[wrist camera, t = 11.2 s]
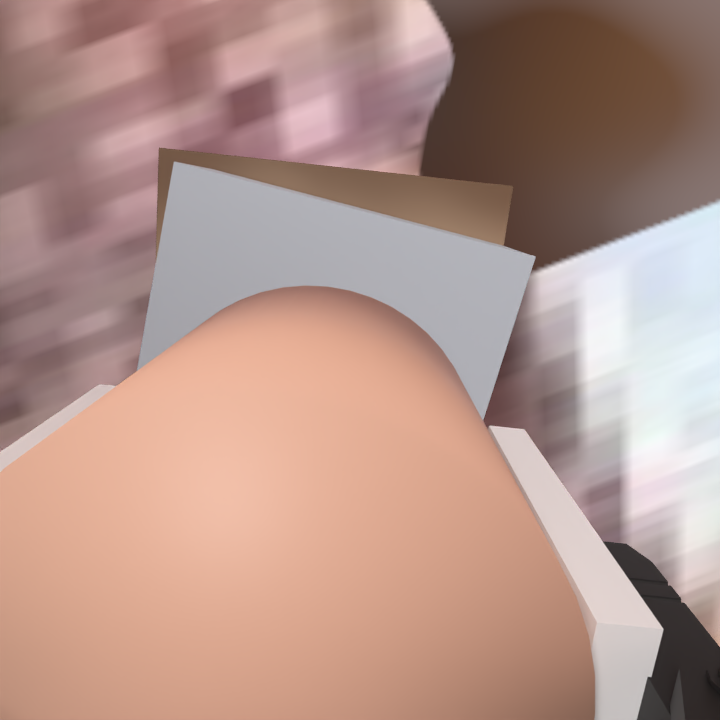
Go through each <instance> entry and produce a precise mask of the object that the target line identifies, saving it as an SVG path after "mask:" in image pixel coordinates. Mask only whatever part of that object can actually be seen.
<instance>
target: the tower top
mask: <svg viewBox="0 0 720 720" xmlns="http://www.w3.org/2000/svg"><path fill="white" fill-rule="evenodd" d="M534 260H535V256H532V255H529V254H526V253H523V252H520V251H517V250H514V249H511V248H508V247H505V246H502V245H499V244H495V243H491V242H487V241H484V240H480V239H476V238H472V237H468V236H465V235H461V234H457V233H453V232H449V231H446V230H442V229H438V228H434V227H430V226H427V225H423V224H419V223H415V222H411V221H408V220H404V219H400V218H396V217H393V216H389V215H385V214H381V213H377V212H374V211H370V210H366V209H362V208H358V207H355V206H351V205H347V204H343V203H339V202H336V201H332V200H328V199H324V198H320V197H317V196H313V195H309V194H305V193H301V192H298V191H294V190H290V189H286V188H282V187H279V186H275V185H271V184H267V183H263V182H260V181H256V180H252V179H248V178H244V177H241V176H237V175H233V174H229V173H225V172H222V171H218V170H214V169H209V168H204V167H199V166H194V165H189V164H184V163H179V162H174V164H173V170H172V175H171V181H170V187H169V192H168V198H167V203H166V209H165V215H164V220H163V226H162V232H161V237H160V243H159V249H158V254H157V260H156V265H155V271H154V277H153V282H152V288H151V294H150V299H149V305H148V311H147V316H146V322H145V327H144V333H143V339H142V344H141V350H140V356H139V361H138V367H137V371H138V370H139V369H140V368H142V367H143V366H144V365H146V364H147V363H149V362H150V361H151V360H153V359H154V358H155V357H157V356H158V355H160V354H161V353H162V352H164V351H165V350H166V349H168V348H169V347H170V346H172V345H173V344H175V343H176V342H177V341H179V340H180V339H181V338H183V337H184V336H185V335H187V334H188V333H190V332H191V331H192V330H194V329H195V328H196V327H198V326H199V325H200V324H202V323H203V322H205V321H206V320H207V319H209V318H210V317H212V316H213V315H214V314H216V313H217V312H219V311H220V310H222V309H223V308H225V307H227V306H229V305H231V304H233V303H235V302H237V301H239V300H241V299H244V298H246V297H249V296H252V295H255V294H257V293H260V292H264V291H269V290H273V289H278V288H282V287H293V286H327V287H333V288H339V289H344V290H350V291H353V292H356V293H359V294H362V295H366V296H369V297H372V298H374V299H376V300H378V301H380V302H382V303H385V304H387V305H389V306H391V307H393V308H394V309H396V310H397V311H399V312H401V313H402V314H404V315H405V316H407V317H408V318H410V319H411V320H412V321H414V322H415V323H416V324H417V325H418V326H420V327H421V328H422V329H423V330H424V331H425V332H427V333H428V334H429V335H430V337H431V338H432V339H433V340H434V341H435V342H436V343H437V344H438V345H439V347H440V348H441V349H442V350H443V352H444V353H445V354H446V356H447V357H448V359H449V360H450V362H451V363H452V365H453V366H454V368H455V370H456V372H457V373H458V375H459V377H460V379H461V381H462V383H463V385H464V386H465V388H466V390H467V392H468V394H469V396H470V398H471V399H472V401H473V403H474V405H475V407H476V409H477V411H478V412H479V414H480V416H481V418H482V420H484V417H485V413H486V410H487V407H488V404H489V401H490V398H491V395H492V392H493V388H494V385H495V382H496V379H497V376H498V373H499V370H500V367H501V363H502V360H503V357H504V354H505V351H506V348H507V345H508V342H509V338H510V335H511V332H512V329H513V326H514V323H515V320H516V317H517V313H518V310H519V307H520V304H521V301H522V298H523V295H524V292H525V289H526V285H527V282H528V279H529V276H530V273H531V270H532V267H533V264H534Z"/></svg>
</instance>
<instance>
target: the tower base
mask: <svg viewBox="0 0 720 720" xmlns="http://www.w3.org/2000/svg"><path fill="white" fill-rule="evenodd" d="M174 162H179V163H184V164H189V165H194V166H199V167H204V168H209V169H214V170H218V171H222V172H225V173H229V174H233V175H237V176H241V177H244V178H248V179H252V180H256V181H260V182H263V183H267V184H271V185H275V186H279V187H282V188H286V189H290V190H294V191H298V192H301V193H305V194H309V195H313V196H317V197H320V198H324V199H328V200H332V201H336V202H339V203H343V204H347V205H351V206H355V207H358V208H362V209H366V210H370V211H374V212H377V213H381V214H385V215H389V216H393V217H396V218H400V219H404V220H408V221H411V222H415V223H419V224H423V225H427V226H430V227H434V228H438V229H442V230H446V231H449V232H453V233H457V234H461V235H465V236H468V237H472V238H476V239H480V240H484V241H487V242H491V243H495V244H499V245H502V246H504V241H505V234H506V227H507V221H508V215H509V209H510V202H511V196H512V189H513V186H507V185H498V184H488V183H480V182H470V181H461V180H451V179H442V178H433V177H424V176H415V175H406V174H397V173H387V172H378V171H369V170H360V169H350V168H341V167H332V166H323V165H314V164H304V163H295V162H286V161H277V160H267V159H258V158H249V157H240V156H231V155H221V154H212V153H203V152H194V151H184V150H175V149H166V148H159V164H158V200H157V235H156V260H157V254H158V249H159V243H160V237H161V232H162V226H163V220H164V215H165V209H166V203H167V198H168V192H169V187H170V181H171V175H172V170H173V164H174Z"/></svg>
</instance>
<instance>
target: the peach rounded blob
mask: <svg viewBox="0 0 720 720" xmlns="http://www.w3.org/2000/svg"><path fill="white" fill-rule="evenodd" d="M594 718H595V671H594V665H593V659H592V652H591V646H590V640H589V635H588V632H587V629H586V625H585V622H584V619H583V616H582V613H581V610H580V607H579V604H578V600H577V597H576V595H575V593H574V591H573V589H572V587H571V585H570V583H569V581H568V579H567V577H566V575H565V573H564V571H563V569H562V567H561V565H560V563H559V561H558V559H557V557H556V556H555V554H554V552H553V550H552V548H551V546H550V544H549V543H548V541H547V539H546V537H545V535H544V533H543V531H542V530H541V528H540V526H539V524H538V522H537V520H536V518H535V517H534V515H533V513H532V511H531V509H530V507H529V505H528V504H527V502H526V500H525V498H524V496H523V494H522V492H521V491H520V489H519V487H518V485H517V483H516V481H515V479H514V478H513V476H512V474H511V472H510V470H509V468H508V466H507V465H506V463H505V461H504V459H503V457H502V455H501V453H500V452H499V450H498V448H497V446H496V444H495V442H494V440H493V439H492V437H491V435H490V433H489V431H488V429H487V427H486V426H485V424H484V422H483V420H482V418H481V416H480V414H479V412H478V411H477V409H476V407H475V405H474V403H473V401H472V399H471V398H470V396H469V394H468V392H467V390H466V388H465V386H464V385H463V383H462V381H461V379H460V377H459V375H458V373H457V372H456V370H455V368H454V366H453V365H452V363H451V362H450V360H449V359H448V357H447V356H446V354H445V353H444V352H443V350H442V349H441V348H440V347H439V345H438V344H437V343H436V342H435V341H434V340H433V339H432V338H431V337H430V335H429V334H428V333H427V332H425V331H424V330H423V329H422V328H421V327H420V326H418V325H417V324H416V323H415V322H414V321H412V320H411V319H410V318H408V317H407V316H405V315H404V314H402V313H401V312H399V311H397V310H396V309H394V308H393V307H391V306H389V305H387V304H385V303H382V302H380V301H378V300H376V299H374V298H372V297H369V296H366V295H362V294H359V293H356V292H353V291H350V290H344V289H339V288H333V287H327V286H293V287H282V288H278V289H273V290H269V291H264V292H260V293H257V294H255V295H252V296H249V297H246V298H244V299H241V300H239V301H237V302H235V303H233V304H231V305H229V306H227V307H225V308H223V309H222V310H220V311H219V312H217V313H216V314H214V315H213V316H212V317H210V318H209V319H207V320H206V321H205V322H203V323H202V324H200V325H199V326H198V327H196V328H195V329H194V330H192V331H191V332H190V333H188V334H187V335H185V336H184V337H183V338H181V339H180V340H179V341H177V342H176V343H175V344H173V345H172V346H170V347H169V348H168V349H166V350H165V351H164V352H162V353H161V354H160V355H158V356H157V357H155V358H154V359H153V360H151V361H150V362H149V363H147V364H146V365H144V366H143V367H142V368H140V369H139V370H138V371H136V372H135V373H134V374H132V375H131V376H129V377H128V378H127V379H125V380H124V381H123V382H121V383H120V384H119V385H117V386H116V387H114V388H113V389H112V390H110V391H109V392H108V393H106V394H105V395H104V396H102V397H101V398H99V399H98V400H97V401H95V402H94V403H93V404H91V405H90V406H89V407H87V408H86V409H84V410H83V411H82V412H80V413H79V414H78V415H76V416H75V417H74V418H72V419H71V420H69V421H68V422H67V423H65V424H64V425H63V426H61V427H60V428H59V429H57V430H56V431H54V432H53V433H52V434H50V435H49V436H48V437H46V438H45V439H43V440H42V441H41V442H39V443H38V444H37V445H35V446H34V447H33V448H31V449H30V450H28V451H27V452H26V453H24V454H23V455H22V456H20V457H19V458H18V459H16V460H15V461H13V462H12V463H11V464H9V465H8V466H7V467H5V468H4V469H3V470H2V471H1V472H0V720H594Z"/></svg>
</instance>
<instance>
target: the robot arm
mask: <svg viewBox="0 0 720 720" xmlns="http://www.w3.org/2000/svg"><path fill="white" fill-rule="evenodd" d="M114 387H116V386H112V385H103V384H99V385H97V386H96V387H94V388H93V389H91V390H90V391H89V392H87V393H86V394H84V395H83V396H81V397H80V398H78V399H77V400H75V401H74V402H72V403H71V404H69V405H68V406H67V407H65V408H64V409H62V410H61V411H59V412H58V413H56V414H55V415H53V416H52V417H50V418H49V419H48V420H46V421H45V422H43V423H42V424H40V425H39V426H37V427H36V428H34V429H33V430H31V431H30V432H29V433H27V434H26V435H24V436H23V437H21V438H20V439H18V440H17V441H15V442H14V443H12V444H11V445H10V446H8V447H7V448H5V449H4V450H2V451H1V452H0V472H1V471H2V470H3V469H4V468H5V467H7V466H8V465H9V464H11V463H12V462H13V461H15V460H16V459H18V458H19V457H20V456H22V455H23V454H24V453H26V452H27V451H28V450H30V449H31V448H33V447H34V446H35V445H37V444H38V443H39V442H41V441H42V440H43V439H45V438H46V437H48V436H49V435H50V434H52V433H53V432H54V431H56V430H57V429H59V428H60V427H61V426H63V425H64V424H65V423H67V422H68V421H69V420H71V419H72V418H74V417H75V416H76V415H78V414H79V413H80V412H82V411H83V410H84V409H86V408H87V407H89V406H90V405H91V404H93V403H94V402H95V401H97V400H98V399H99V398H101V397H102V396H104V395H105V394H106V393H108V392H109V391H110V390H112V389H113V388H114ZM488 431H489V433H490V435H491V437H492V439H493V440H494V442H495V444H496V446H497V448H498V450H499V452H500V453H501V455H502V457H503V459H504V461H505V463H506V465H507V466H508V468H509V470H510V472H511V474H512V476H513V478H514V479H515V481H516V483H517V485H518V487H519V489H520V491H521V492H522V494H523V496H524V498H525V500H526V502H527V504H528V505H529V507H530V509H531V511H532V513H533V515H534V517H535V518H536V520H537V522H538V524H539V526H540V528H541V530H542V531H543V533H544V535H545V537H546V539H547V541H548V543H549V544H550V546H551V548H552V550H553V552H554V554H555V556H556V557H557V559H558V561H559V563H560V565H561V567H562V569H563V571H564V573H565V575H566V577H567V579H568V581H569V583H570V585H571V587H572V589H573V591H574V593H575V595H576V597H577V600H578V604H579V607H580V610H581V613H582V616H583V619H584V622H585V625H586V629H587V632H588V635H589V640H590V646H591V652H592V659H593V665H594V671H595V718H594V720H720V647H719V646H718V645H717V643H716V642H715V641H714V639H713V638H712V637H711V636H710V634H709V633H708V632H707V631H706V629H705V628H704V627H703V626H702V624H701V623H700V622H699V621H698V619H697V618H696V617H695V616H694V614H693V613H692V612H691V611H690V609H689V608H688V607H687V605H686V604H685V603H681V598H680V597H679V595H678V594H677V593H676V592H675V590H674V589H673V588H672V587H671V586H668V582H667V580H666V579H665V578H664V577H663V575H662V574H661V573H660V571H659V570H658V569H657V568H656V566H655V565H654V564H653V563H652V562H651V561H650V560H648V559H647V558H646V557H644V556H643V555H641V554H640V553H639V552H637V551H636V550H634V549H633V548H631V547H630V546H629V545H627V544H622V543H613V542H603V541H602V540H601V539H600V537H599V536H598V534H597V533H596V531H595V530H594V529H593V527H592V526H591V524H590V523H589V521H588V520H587V519H586V517H585V516H584V514H583V513H582V511H581V510H580V509H579V507H578V506H577V504H576V503H575V501H574V500H573V498H572V497H571V496H570V494H569V493H568V491H567V490H566V488H565V487H564V486H563V484H562V483H561V481H560V480H559V478H558V477H557V476H556V474H555V473H554V471H553V470H552V468H551V467H550V465H549V464H548V463H547V461H546V460H545V458H544V457H543V455H542V454H541V453H540V451H539V450H538V448H537V447H536V445H535V444H534V442H533V441H532V440H531V438H530V437H529V435H528V434H527V432H526V431H525V430H524V429H518V428H508V427H499V426H489V427H488Z"/></svg>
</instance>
